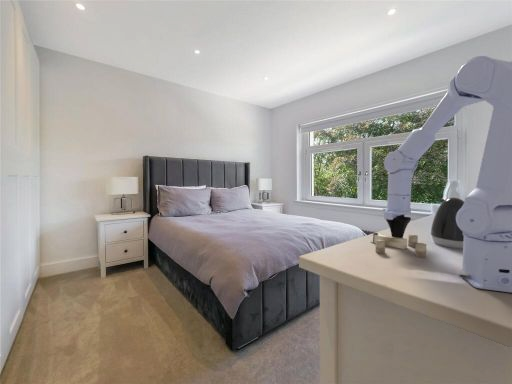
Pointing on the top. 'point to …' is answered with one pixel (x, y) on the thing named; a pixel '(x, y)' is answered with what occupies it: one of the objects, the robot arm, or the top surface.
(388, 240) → the hinged leg
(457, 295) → the top surface
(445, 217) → the dark grey tapered dome
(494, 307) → the top surface
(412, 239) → the stool seat
